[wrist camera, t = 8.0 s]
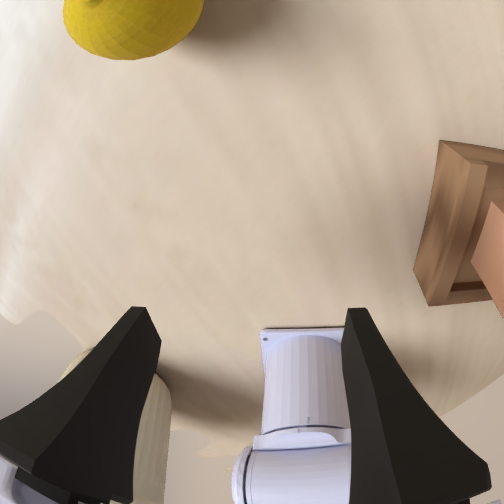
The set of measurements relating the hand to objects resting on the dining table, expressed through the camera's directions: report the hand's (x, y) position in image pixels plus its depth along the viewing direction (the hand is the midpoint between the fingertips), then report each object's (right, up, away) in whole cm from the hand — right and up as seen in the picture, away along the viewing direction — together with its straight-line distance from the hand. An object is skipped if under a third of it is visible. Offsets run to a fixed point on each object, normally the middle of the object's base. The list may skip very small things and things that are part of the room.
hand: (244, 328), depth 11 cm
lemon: (-4, +16, +1) cm, 16 cm away
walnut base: (+17, +5, +7) cm, 19 cm away
